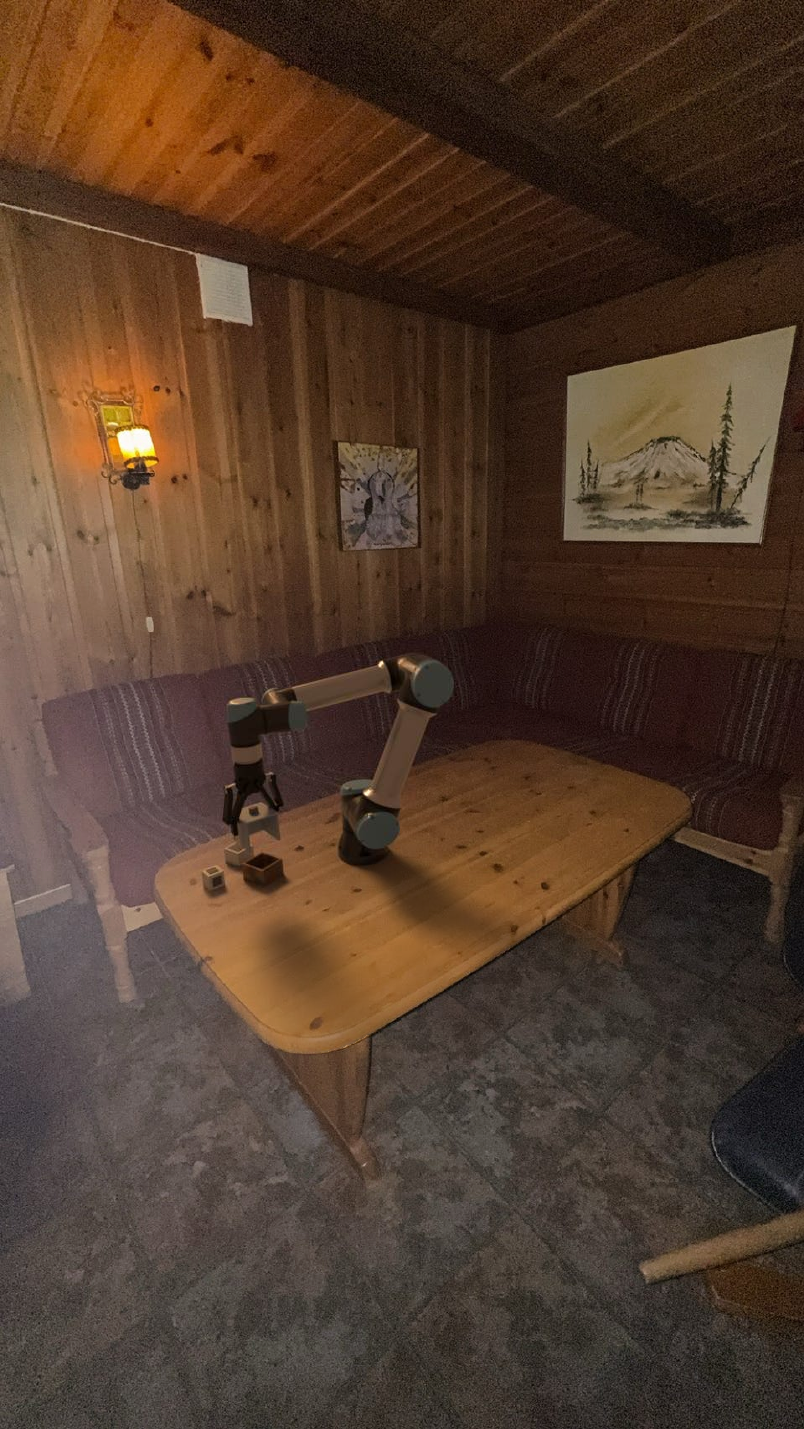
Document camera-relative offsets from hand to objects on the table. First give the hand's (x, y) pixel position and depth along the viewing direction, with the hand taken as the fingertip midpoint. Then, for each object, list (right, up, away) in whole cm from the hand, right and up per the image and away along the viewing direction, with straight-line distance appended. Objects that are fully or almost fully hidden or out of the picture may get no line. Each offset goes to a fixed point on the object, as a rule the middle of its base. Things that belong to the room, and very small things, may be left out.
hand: (256, 839), depth 164 cm
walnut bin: (-1, -14, +14) cm, 20 cm away
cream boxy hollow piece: (-15, -15, +11) cm, 24 cm away
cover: (0, 0, 0) cm, 0 cm away
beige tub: (-11, -11, +24) cm, 28 cm away
